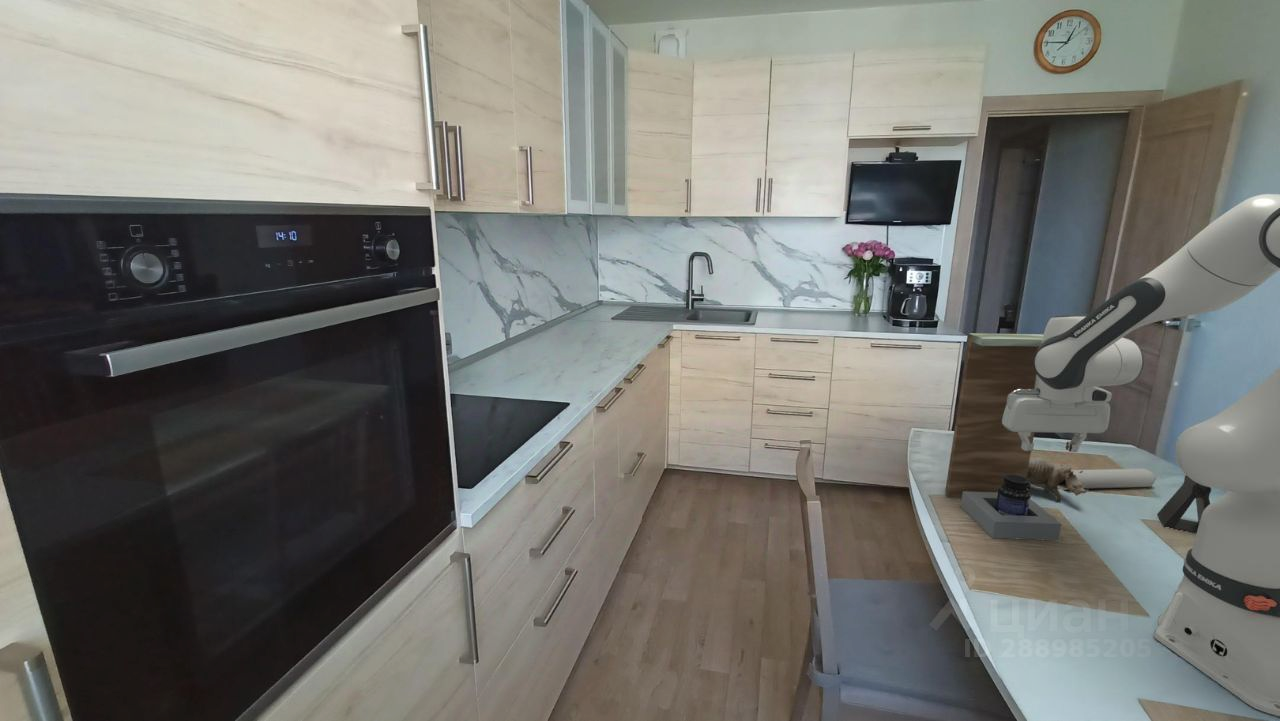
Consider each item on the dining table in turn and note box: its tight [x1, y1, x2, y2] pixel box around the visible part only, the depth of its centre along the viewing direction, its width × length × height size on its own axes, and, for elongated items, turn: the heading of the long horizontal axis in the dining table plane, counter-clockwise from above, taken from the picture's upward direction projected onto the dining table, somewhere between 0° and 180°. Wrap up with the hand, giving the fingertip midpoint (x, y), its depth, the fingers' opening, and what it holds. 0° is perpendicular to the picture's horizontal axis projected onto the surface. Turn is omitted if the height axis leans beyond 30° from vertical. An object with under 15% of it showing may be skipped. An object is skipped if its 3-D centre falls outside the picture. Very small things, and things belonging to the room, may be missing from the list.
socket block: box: [960, 491, 1063, 541], centre depth 129 cm, size 14×14×4 cm
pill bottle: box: [995, 474, 1031, 516], centre depth 128 cm, size 6×6×11 cm
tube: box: [1057, 467, 1157, 491], centre depth 147 cm, size 5×5×25 cm
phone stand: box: [1156, 474, 1212, 534], centre depth 127 cm, size 9×6×12 cm, turn 59°
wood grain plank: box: [944, 332, 1044, 499], centre depth 134 cm, size 6×18×42 cm, turn 87°
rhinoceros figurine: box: [1026, 456, 1089, 504], centre depth 142 cm, size 8×14×15 cm
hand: (1049, 450), depth 123 cm, fingers open, 8 cm apart
